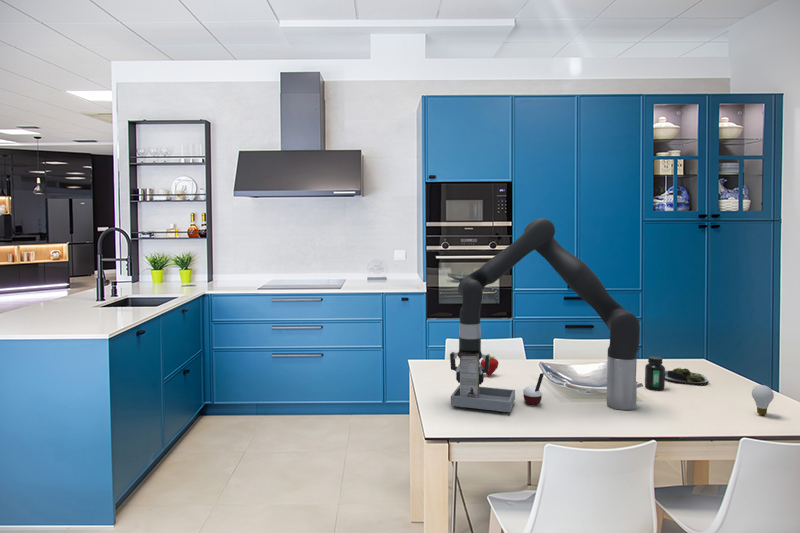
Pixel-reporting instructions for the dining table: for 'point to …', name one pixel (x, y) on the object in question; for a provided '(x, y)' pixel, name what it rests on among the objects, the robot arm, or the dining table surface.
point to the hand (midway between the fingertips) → (469, 382)
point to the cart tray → (486, 399)
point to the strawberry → (490, 365)
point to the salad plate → (685, 377)
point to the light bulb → (762, 398)
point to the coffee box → (469, 374)
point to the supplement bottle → (655, 374)
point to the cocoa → (533, 393)
